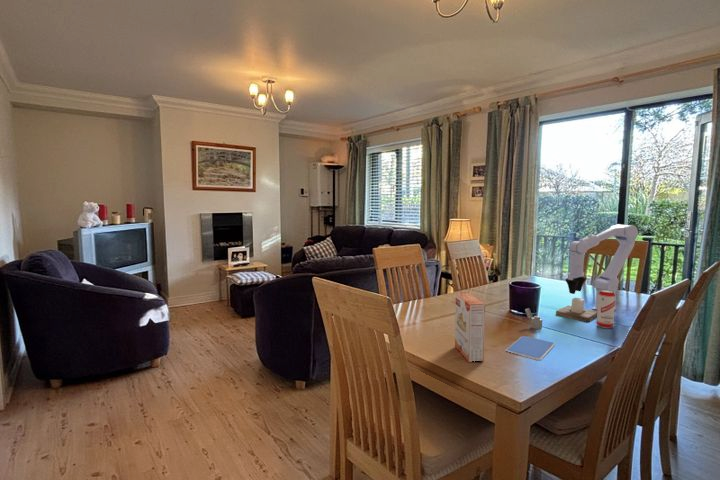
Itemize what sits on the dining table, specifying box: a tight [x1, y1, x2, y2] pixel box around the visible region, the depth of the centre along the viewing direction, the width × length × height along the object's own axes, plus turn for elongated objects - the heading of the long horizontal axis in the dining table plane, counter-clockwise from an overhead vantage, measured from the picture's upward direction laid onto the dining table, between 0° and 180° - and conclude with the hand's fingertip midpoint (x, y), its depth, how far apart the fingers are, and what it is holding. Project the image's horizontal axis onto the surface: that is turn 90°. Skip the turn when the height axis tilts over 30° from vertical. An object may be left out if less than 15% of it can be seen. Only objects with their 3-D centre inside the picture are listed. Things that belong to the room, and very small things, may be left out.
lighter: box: [524, 307, 543, 331], centre depth 164 cm, size 7×2×8 cm, turn 42°
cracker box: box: [454, 293, 486, 363], centre depth 135 cm, size 14×6×21 cm, turn 5°
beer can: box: [596, 290, 616, 329], centre depth 164 cm, size 6×6×16 cm
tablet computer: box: [505, 335, 556, 361], centre depth 142 cm, size 19×13×1 cm, turn 139°
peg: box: [571, 297, 585, 314], centre depth 180 cm, size 4×4×8 cm
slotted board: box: [555, 305, 597, 323], centre depth 181 cm, size 14×14×2 cm
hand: (575, 292), depth 187 cm, fingers open, 7 cm apart
